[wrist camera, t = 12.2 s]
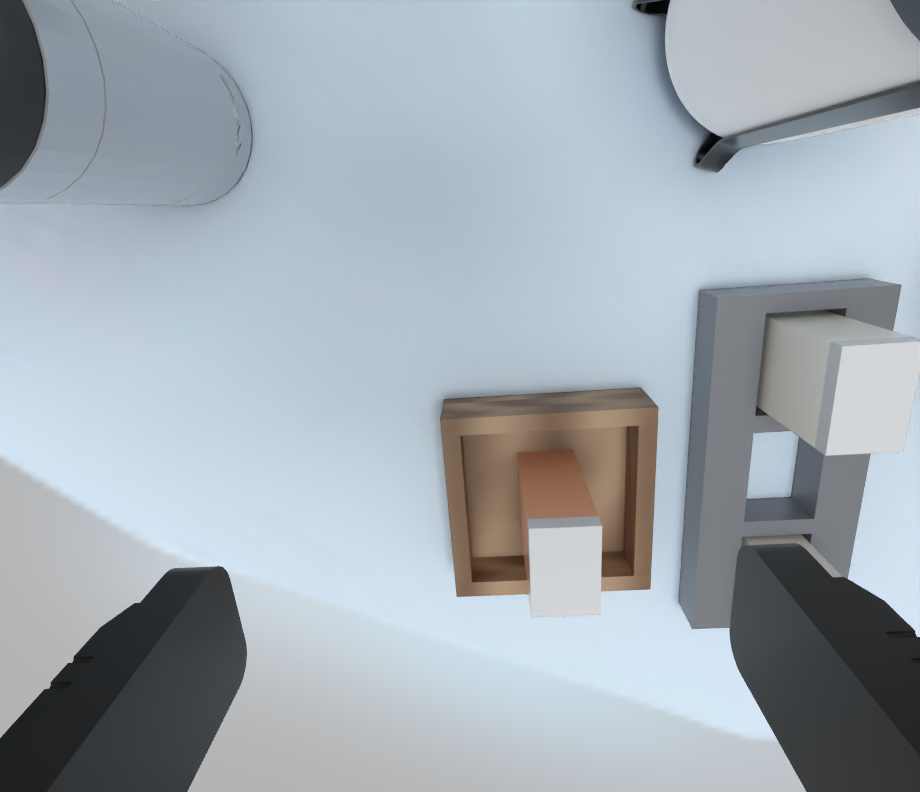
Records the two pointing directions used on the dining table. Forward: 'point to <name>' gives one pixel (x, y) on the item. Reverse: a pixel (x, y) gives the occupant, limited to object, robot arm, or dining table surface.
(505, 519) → the tray
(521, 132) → the dining table surface
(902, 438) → the block
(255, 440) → the dining table surface
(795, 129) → the coffee press
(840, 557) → the frame
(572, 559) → the block
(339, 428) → the dining table surface
